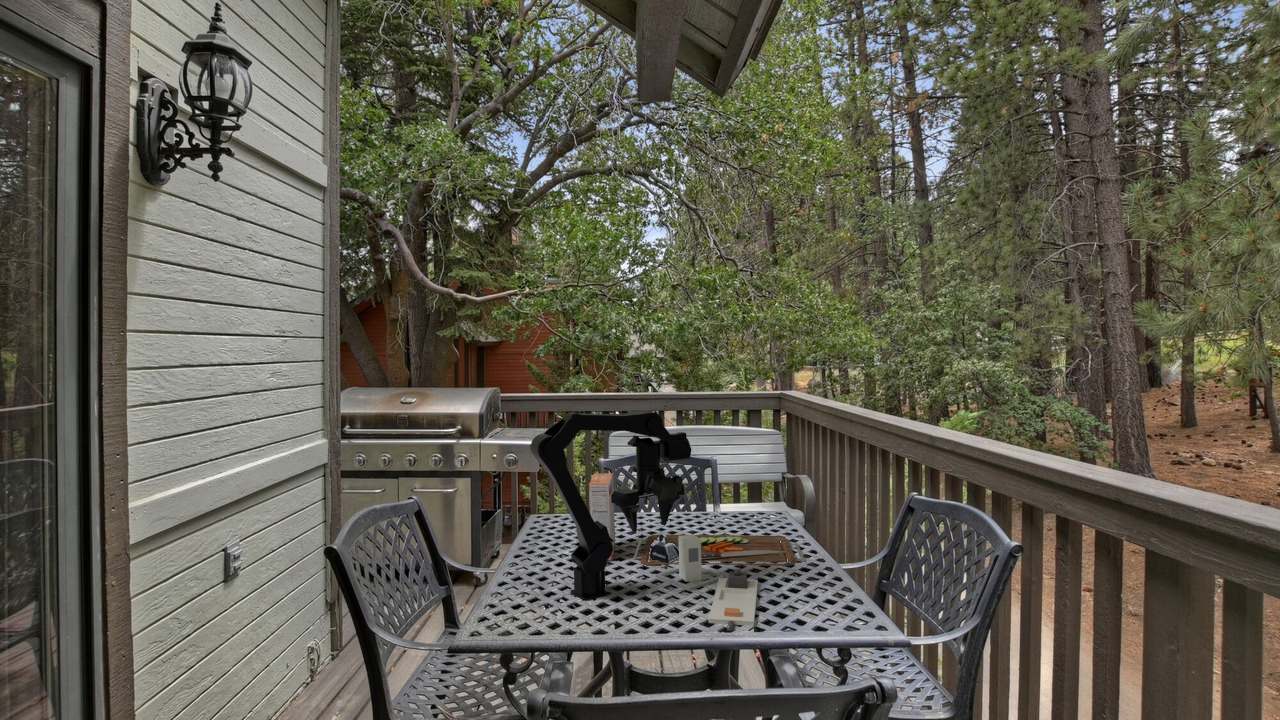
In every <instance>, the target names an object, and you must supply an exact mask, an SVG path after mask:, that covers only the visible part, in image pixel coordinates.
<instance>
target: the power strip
mask: <svg viewBox="0 0 1280 720" xmlns="http://www.w3.org/2000/svg"><path fill="white" fill-rule="evenodd" d="M758 584H759V581H758V579H748V578H747V588H746V589H742V588H728V577H726V578H719V580H718V581H717V584H716V589H715V591H714V596H713V599H712V603H711V608H710V611H709V616H708V624H721V625H727V627H726V631H729V632H730V631H731V632H733V631H734V627H735V626H749V627H750V626H751V627H754V626H755V620H756V618H755V617H756V607H757V597H758V596H757V594H758Z"/></svg>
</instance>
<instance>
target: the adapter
mask: <svg viewBox="0 0 1280 720" xmlns="http://www.w3.org/2000/svg"><path fill="white" fill-rule="evenodd" d="M682 535H683V536H679V561H678V563H679V564H678V567H679V572H678V576H679V577H680V578H682V579H683V581H685V583H686V582H687V583H688V582H693V581H695V582H696V581H701V580H702V573H703V572H702V571H701V567H702V565H701V563H702V561H701V539H700V538H698V537H697V536H695V535H696V534H694V533H693V534H682Z"/></svg>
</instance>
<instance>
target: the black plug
mask: <svg viewBox="0 0 1280 720" xmlns="http://www.w3.org/2000/svg"><path fill="white" fill-rule="evenodd" d="M727 578H728V588H742V589H746V588H747V579H748V572H747V571H742V569H739V568H736V569H733V571H732V570H731V571H730V570H729V572H728V576H727Z"/></svg>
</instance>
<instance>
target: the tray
mask: <svg viewBox="0 0 1280 720" xmlns="http://www.w3.org/2000/svg"><path fill="white" fill-rule="evenodd" d="M675 573H679V566H678V567H676V568H672V569H668V570H665V571H663V572H659V573H656V574H655V577H654V578H657V579H659V580H661V581H664V582H667V583H669V584H670V585H671V584H672V585H674V586H676V587H680V588H681V589H684V590H687V591H692V590H695V589H699V588H702V587H705V586H708V585H711V584H714V583H716V582H717V583H718V580H719V578H727V576H726V575H724V574H722V573H719V572H717V571H714V570H711V569H707V568H705V567H702V566H701V573H706V574H707V575H711V576H713V578H710V579H707V580H704V581H700V582H698V583H695V584H692V585H688V584H685V583H684V582H683V583H682V582H679V581H678V580H675V579H672V578H670V577H667V576H668V575H672V574H675Z"/></svg>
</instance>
